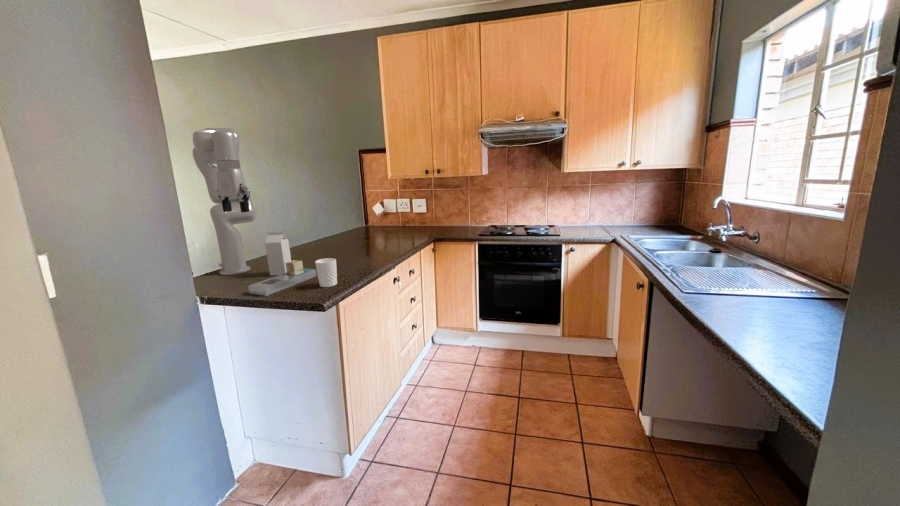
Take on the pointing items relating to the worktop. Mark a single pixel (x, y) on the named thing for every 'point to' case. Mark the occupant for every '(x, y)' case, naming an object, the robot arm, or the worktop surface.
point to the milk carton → (277, 252)
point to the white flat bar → (280, 282)
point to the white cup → (326, 272)
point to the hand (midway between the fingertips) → (236, 211)
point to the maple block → (294, 267)
